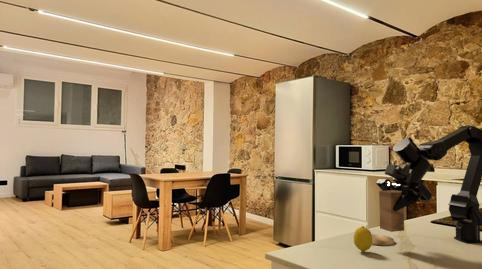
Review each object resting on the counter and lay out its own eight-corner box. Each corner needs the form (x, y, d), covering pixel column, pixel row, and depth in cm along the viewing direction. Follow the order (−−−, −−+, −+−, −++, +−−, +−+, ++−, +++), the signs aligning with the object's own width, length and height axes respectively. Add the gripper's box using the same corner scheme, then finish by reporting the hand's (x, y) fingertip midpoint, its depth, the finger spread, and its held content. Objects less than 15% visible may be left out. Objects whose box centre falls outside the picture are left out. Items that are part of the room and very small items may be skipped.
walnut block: (392, 227, 114) (391, 190, 115) (404, 230, 110) (403, 192, 110) (380, 228, 113) (379, 191, 113) (391, 231, 108) (390, 192, 109)
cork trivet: (384, 236, 127) (384, 234, 127) (400, 245, 116) (400, 242, 116) (354, 237, 126) (354, 234, 126) (368, 245, 115) (368, 242, 115)
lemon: (374, 255, 105) (373, 228, 105) (354, 254, 106) (354, 227, 106) (371, 250, 110) (370, 224, 111) (352, 249, 112) (352, 223, 112)
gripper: (379, 155, 122) (353, 188, 118) (423, 156, 105) (394, 195, 101) (398, 177, 125) (373, 210, 121) (444, 181, 107) (416, 220, 103)
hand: (387, 208), depth 111 cm, fingers closed on walnut block, 5 cm apart
